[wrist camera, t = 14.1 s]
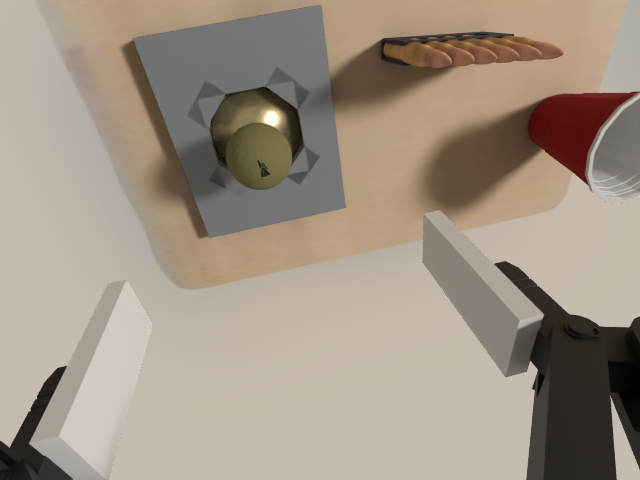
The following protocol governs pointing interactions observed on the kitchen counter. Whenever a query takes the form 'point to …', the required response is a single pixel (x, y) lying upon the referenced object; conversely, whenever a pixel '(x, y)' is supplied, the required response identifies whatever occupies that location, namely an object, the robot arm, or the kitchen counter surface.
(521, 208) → the kitchen counter surface
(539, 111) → the plastic cup
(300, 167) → the socket plate
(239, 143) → the light bulb
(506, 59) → the ammunition clip
